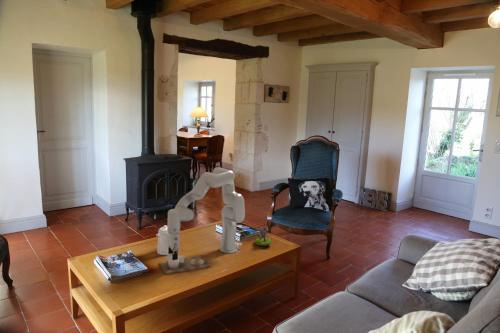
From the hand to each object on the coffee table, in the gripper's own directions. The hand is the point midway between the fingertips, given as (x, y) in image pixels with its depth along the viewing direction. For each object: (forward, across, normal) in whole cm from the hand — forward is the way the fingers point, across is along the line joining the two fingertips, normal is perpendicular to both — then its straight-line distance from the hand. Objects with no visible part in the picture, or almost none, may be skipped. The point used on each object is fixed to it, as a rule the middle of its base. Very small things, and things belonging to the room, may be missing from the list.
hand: (172, 256), depth 219 cm
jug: (+7, 0, -2) cm, 7 cm away
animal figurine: (+6, +12, -70) cm, 71 cm away
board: (+7, 0, -8) cm, 10 cm away
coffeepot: (+7, +23, -1) cm, 24 cm away
